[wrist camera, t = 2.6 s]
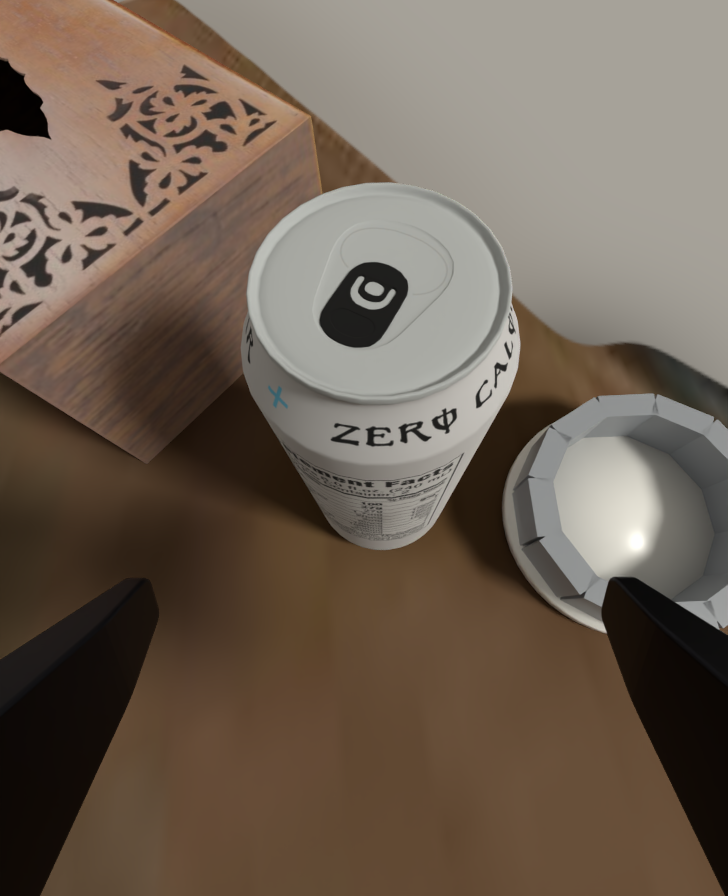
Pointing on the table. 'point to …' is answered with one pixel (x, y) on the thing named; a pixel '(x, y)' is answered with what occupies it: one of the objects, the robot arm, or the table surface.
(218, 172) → the tissue box cover
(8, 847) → the robot arm
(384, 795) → the table surface
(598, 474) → the dock
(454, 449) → the energy drink can
